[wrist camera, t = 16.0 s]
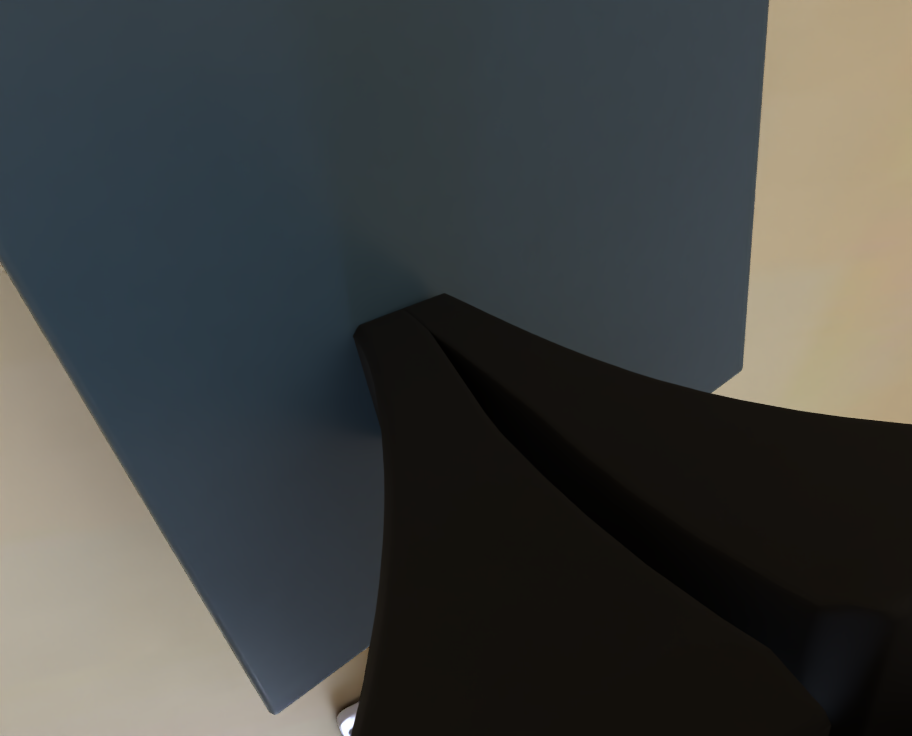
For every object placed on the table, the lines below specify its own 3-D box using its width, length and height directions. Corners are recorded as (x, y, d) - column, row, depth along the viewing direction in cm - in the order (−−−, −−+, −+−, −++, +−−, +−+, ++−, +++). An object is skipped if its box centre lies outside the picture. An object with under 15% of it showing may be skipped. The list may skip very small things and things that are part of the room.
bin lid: (252, 684, 13) (274, 720, 12) (-161, -8, 6) (-155, 2, 6) (713, 355, 17) (743, 370, 17) (738, -246, 11) (790, -253, 10)
